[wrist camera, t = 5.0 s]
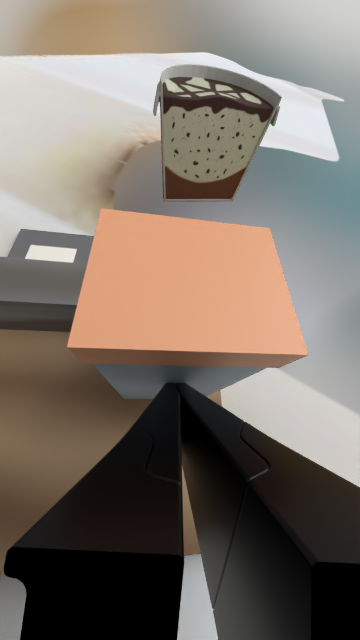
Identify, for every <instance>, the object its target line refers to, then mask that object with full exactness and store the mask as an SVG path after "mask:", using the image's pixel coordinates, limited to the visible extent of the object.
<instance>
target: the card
mask: <svg viewBox="0 0 360 640" xmlns="http://www.w3.org/2000/svg"><path fill="white" fill-rule="evenodd" d="M93 239H94V236H86V235H76V234H66V233H56V232H46V231H36V230H27V229H21V230H20V232H19V234H18V236H17V238H16V240H15V242H14V245H13V247H12V249H11V251H10V253H9V255H8V257H10V258H22V259H34V260H46V261H58V262H70V263H82V264H88V260H89V255H90V251H91V247H92V243H93Z"/></svg>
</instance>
